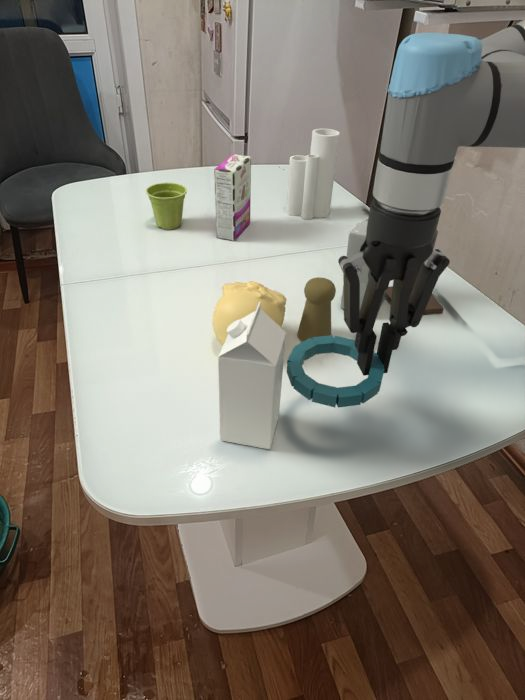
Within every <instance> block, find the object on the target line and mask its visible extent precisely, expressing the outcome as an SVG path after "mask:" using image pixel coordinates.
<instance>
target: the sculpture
mask: <svg viewBox="0 0 525 700" xmlns="http://www.w3.org/2000/svg"><path fill="white" fill-rule="evenodd" d="M221 289H222V294H221V296H220V297H219V299H218V300H217V302H216V304H215V307H214V310H213V313H212V319H211V321H212V330H213V333H214V335H215V337H216V339H217V341H218V342H219V343H220V344H221V346H223V345H224V342H225V340H226V338H227V336H228V333H227V328H228V326H229V325H230V324H231V323H233V322H234V321H236V320H240V319H242V318H244V317H245V316H247V315H249V314H251V313H252V312H254V311H256V309H257V306H258V304H259V302H261V310H263V311H264V312H265V313H266V314H267V315H268V316H269V317H270V318H271V319H272V320H273V321H275V322H276V323H277V324H278V325H279V326H280V327H281V328H282V327H283V324H284V320H285V315H286V314H285V313H286V304H287V297H286V296H285V295H284V294H282V293H281V292H278V291H276V290H273V289H270V288H268V287H267V286H265V285H263V284H262V283H260V282H257V281H253V280H251V281H250V280H249V281H247V282H241V281H236V282H232V283H231V282H229V283H224V284H223V285H222V286H221Z"/></svg>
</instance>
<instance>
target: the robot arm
mask: <svg viewBox="0 0 525 700" xmlns="http://www.w3.org/2000/svg"><path fill="white" fill-rule="evenodd" d="M387 93H388V94H387V101H386V108H385V114H384V121H383V128H382V129H383V130H382V136H381V142H380V149H379V154H378V157H377V164H376V170H375V176H374V183H373V188H372V196H373V197H374V198H373V199H372V200H371V201H370V206H369V211H368V217H367V219H368V223H367V232H366V239H365V241H364V243H363V244H362V245H361V247H360V252H359V253H357V254H355V255H353V256H351V257H349V258H348V257H347V255H341V256H340V257H339V258H338V261H337V263H338V265H339V268H340V269H341V271H342V274H343V275H342V277H343V279H342V281H343V283H344V309H343V321H344V323H345V325H346V326H347V328H348V330H349V332H350V333H351V334H355V339H354V340H355V344H354V345H355V348H356V350H357V351H358V353H359V354H358V359H357V361H356V364H357V366H358V369H359V370H360V371H361V374H362V375H363V376H368V375H369V371H370V367H371V362H372V357H373V353H375V346H376V342H377V337H378V335H377V334H376V332H375V331H374V327H375V325H376V324H375V323H376V321H377V317H378V315H379V314H378V313H379V311H380V307H381V306H382V303H381V301H382V298H383V295H384V292H385V290H387V289H388V287H390V282H391V281H392V286H393V289H392V298H391V305H390V307H389V317H388V320H389V322H387V321H386V322H382V324H381V325H382V326H381V330H380V335H379V339H378V344H377V349H376V353H377V355H378V357H379V358H380V360H381V362H382V363H383V365H384V373H383V374H388V371H389V367H390V363H391V359H392V354H393V351H397V350H398V349H399V347H400V343H401V339H402V337H405V336H406V335H407V334H408V333H409V332H408V331H409V330H407V328H409V327H411V328H416V327H418V326H419V325H420V323H421V320H422V318H423V316H424V315H423V314H424V311H425V309H426V306H427V304H428V302H429V299H430V297H431V295H433V292H434V290H435V288H436V285H437V282H438V280H439V279H440V276H441V275H442V274H443V273H444V271H445V270H446V269H447V267H448V266H449V265H450V262H451V261H450V259H449V258H448V257H447V256H446V254H445V253H444V252H442V251H441V249H439V248H434V249H433V245H432V241H433V239H434V237H435V234H436V230H437V231H438V225H439V221H440V217H441V214H442V209H441V208H440V207H441V206H442V205H443V204H444V203H445V200H446V195H447V191H448V187H449V182H450V178H451V174H452V170H453V169H452V168H453V166H454V165H455V159H456V156H457V152H458V149H459V147H469V148H471V147H472V148H514V149H515V148H519V149H525V19H523V20H521V21H519V22H517V23H515V24H513V25H511V26H508V27H506V28H503V29H500V30H499V31H497V32H495V33H492V34H491V35H489V36H487V37H484V38H482V37H478V36H477V37H476V36H470V35H467V34H466V35H465V34H458V33H457V34H456V33H445V32H417V33H412V34H410V35H408V36H406V37H405V38H403V40H402V41H401V42H400V43H399V46H398V48H397V51H396V56H395V59H394V63H393V68H392V72H391V78H390V82H389V85H388V88H387ZM364 262H365V263H366V265H367V266H368V268H369V273H368V283H367V287H366V290H365V294H364V298H363V301H362V305H361V308H360V281H359V277H358V276H359V275H361V271H362V264H363V263H364ZM422 264H423V265H422ZM421 265H422V267H421V269H420V271H419V274H418V277H417V279H416V282H415V284H414V276H415V271H416V270H417V269H418V268H419V267H420V266H421ZM413 284H414V287H413ZM411 287H413V289H412V292H411V294H410V290H411Z"/></svg>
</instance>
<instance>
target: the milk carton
mask: <svg viewBox="0 0 525 700" xmlns="http://www.w3.org/2000/svg"><path fill="white" fill-rule="evenodd" d="M227 333H228V336H227V338H226V340H225V342H224V345H222V347H221V349H220V351H219V354H218V356H217V361H218V362H217V366H218V367H217V370H218V372H217V373H218V415H219V419H218V421H219V441H223V442H228V443H233V444H239V445H244V446H249V447H253V448H254V447H255V448H260V449H266V450H271V447H272V443H273V440H274V436H275V432H276V429H277V425H278V421H279V417H280V410H281V409H280V408H281V395H282V385H283V372H284V371H283V370H284V359H285V348H286V346H285V345H286V335H287V332H286V330H285V329H284V328H282V327H280V326H279V325H278V324H277V323H276V322H275V321H273V320H272V319H271V318H270V317H269V316H268V315H267V314H266V313H265V312H264V311H263V310H261V302H259V304H258V306H257V309H256V311H254V312H252V313H251V314H249V315H247V316H245V317H244V318H242V319H240V320H236V321H234V322H233V323H231V324H230V325H229V326H228V328H227Z"/></svg>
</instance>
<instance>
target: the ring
mask: <svg viewBox="0 0 525 700" xmlns="http://www.w3.org/2000/svg"><path fill="white" fill-rule="evenodd" d="M354 344H355V339H353V338H349V337H345V336H339V335H334V336H333V335H332V334H331V335H329V336H319V337H312V339H311V338H309V339H307V340H305V341H303V342H302V341H301V342H300V343H298V344H296V345H294V347H293V348H292V350H291V352H290V354H289V355H288V358H287V361H286V375H287V377H288V380H289V383H290V385H291V387H292V388H293V389H294V390H295V391H296V392H297V393H299V394H300V395H301V396H303V397H304V398H305V399H306V400H307V401H310V400H311V402H312V403H314V404H319V405H323V406H326V407H332V408H336V407H337V408H338V409H339V408H347V407H354V406H355V407H356V406H361V405H362V404H365V403H367V402H368V401H370V400H371V399H373V398H374V397H376V396H377V395H378V394H379V392H380V390H381V386H382V381H383V377H384V374H385V373H384V365H383V363H382V362H381V360H380V358H379V357H378V355H377V352H374V353H373V357H372V362H371V367H370V371H369V375H367V377H366V378H365V379H363V380H362V381H360V382H359V383H357V384H355V385H348V386H339V387H338V386H337V387H336V386H332V385H329V384H324V383H319V382H318V381H316V380H315V379H314V378H312V377H311V376H309V375H308V374H306V371H305V370H304V367H303V365H304V363H305V362H306V361H308V360H310V359H311V358H312V357H314V356H316V355H324V354H333V353H334V354H337V355H341V356H346V357H349V358H351V359H353V360H354V361H356V362H357V359H358V354H359V353H358V351H357V350H356V348H355V345H354Z"/></svg>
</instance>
